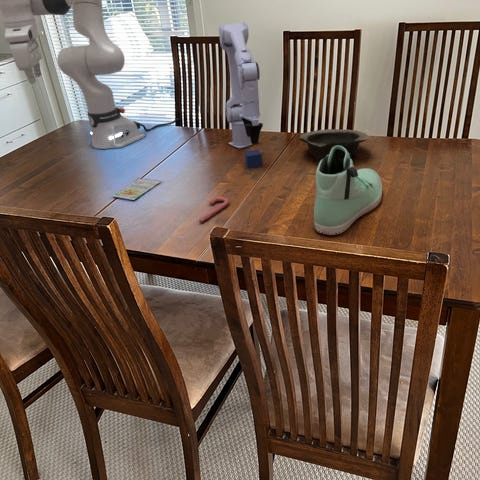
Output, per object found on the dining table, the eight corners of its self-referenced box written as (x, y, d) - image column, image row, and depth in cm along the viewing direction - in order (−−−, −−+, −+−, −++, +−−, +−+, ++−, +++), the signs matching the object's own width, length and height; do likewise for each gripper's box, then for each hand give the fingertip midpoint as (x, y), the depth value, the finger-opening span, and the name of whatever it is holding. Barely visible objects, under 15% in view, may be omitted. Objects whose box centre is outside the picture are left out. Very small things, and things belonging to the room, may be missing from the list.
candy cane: (186, 219, 140) (185, 215, 139) (217, 198, 150) (217, 194, 149) (202, 224, 137) (201, 219, 136) (233, 202, 147) (232, 198, 146)
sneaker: (389, 187, 148) (396, 123, 138) (356, 242, 123) (361, 168, 112) (346, 181, 154) (350, 119, 144) (306, 232, 129) (307, 161, 118)
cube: (245, 163, 173) (244, 151, 171) (259, 161, 174) (258, 149, 172) (248, 168, 169) (247, 155, 167) (262, 166, 170) (261, 154, 168)
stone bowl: (326, 173, 160) (325, 146, 155) (286, 156, 180) (285, 132, 176) (384, 155, 168) (385, 129, 164) (340, 141, 189) (339, 117, 184)
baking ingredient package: (111, 195, 156) (139, 178, 167) (112, 196, 156) (139, 179, 168) (133, 199, 152) (160, 181, 164) (133, 200, 153) (160, 182, 164)
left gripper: (18, 28, 150) (31, 73, 157) (2, 37, 132) (18, 88, 140) (39, 26, 150) (51, 71, 158) (26, 35, 133) (40, 86, 140)
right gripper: (234, 96, 165) (237, 134, 172) (242, 107, 153) (245, 148, 160) (254, 94, 166) (256, 132, 173) (264, 105, 154) (265, 145, 161)
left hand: (35, 79), depth 148 cm, fingers open, 8 cm apart
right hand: (252, 139), depth 167 cm, fingers open, 7 cm apart
